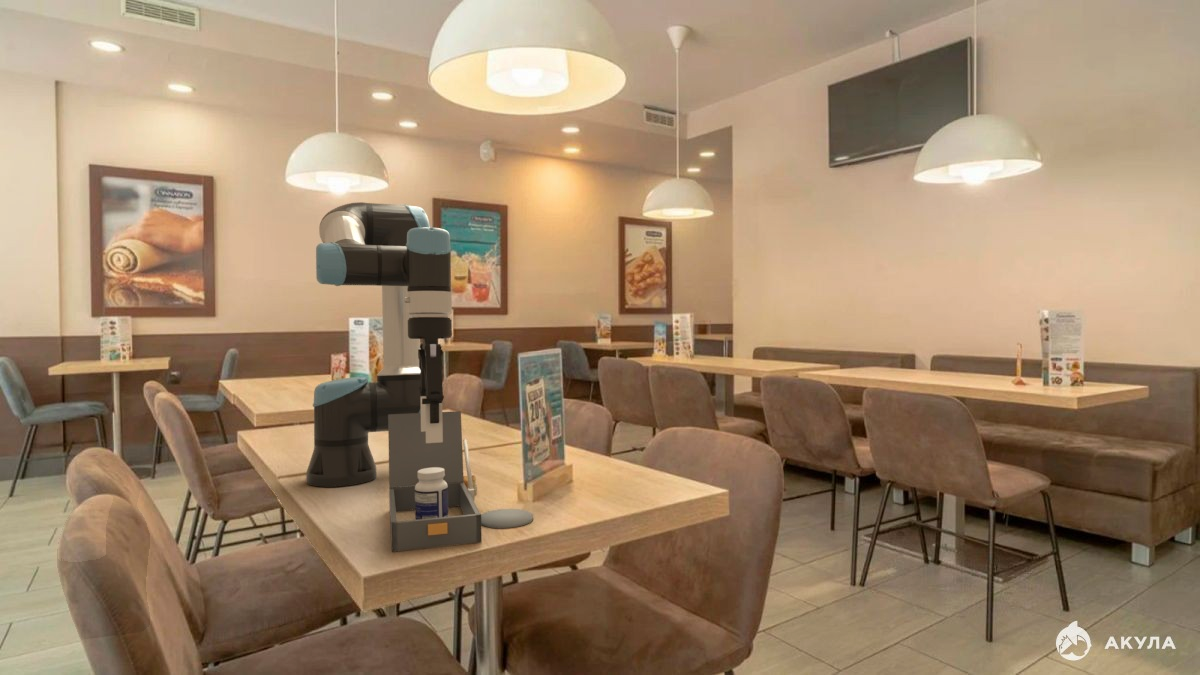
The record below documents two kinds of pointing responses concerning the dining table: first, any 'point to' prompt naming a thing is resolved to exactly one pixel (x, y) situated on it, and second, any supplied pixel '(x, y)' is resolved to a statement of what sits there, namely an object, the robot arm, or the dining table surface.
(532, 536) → the dining table surface
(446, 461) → the case
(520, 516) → the pad
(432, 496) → the pill bottle
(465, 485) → the pastry
